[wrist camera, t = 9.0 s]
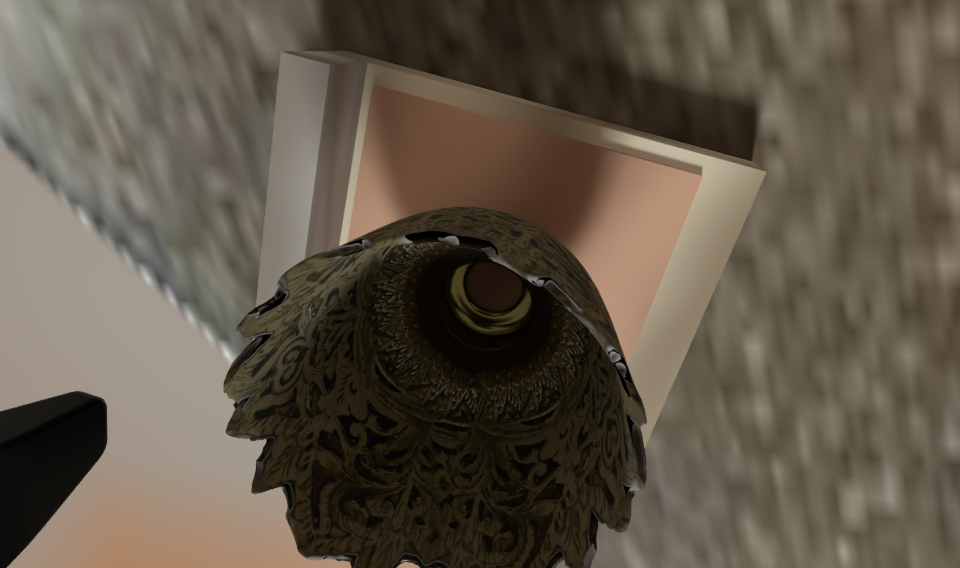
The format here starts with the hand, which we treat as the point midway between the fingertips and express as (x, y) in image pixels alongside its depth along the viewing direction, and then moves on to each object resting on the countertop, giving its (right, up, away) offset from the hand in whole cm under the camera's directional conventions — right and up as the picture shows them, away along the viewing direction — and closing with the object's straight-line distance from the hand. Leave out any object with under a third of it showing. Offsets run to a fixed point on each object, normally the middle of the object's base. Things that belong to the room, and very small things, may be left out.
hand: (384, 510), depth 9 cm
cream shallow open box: (+2, +4, +10) cm, 11 cm away
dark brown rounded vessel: (+2, +3, +9) cm, 10 cm away
